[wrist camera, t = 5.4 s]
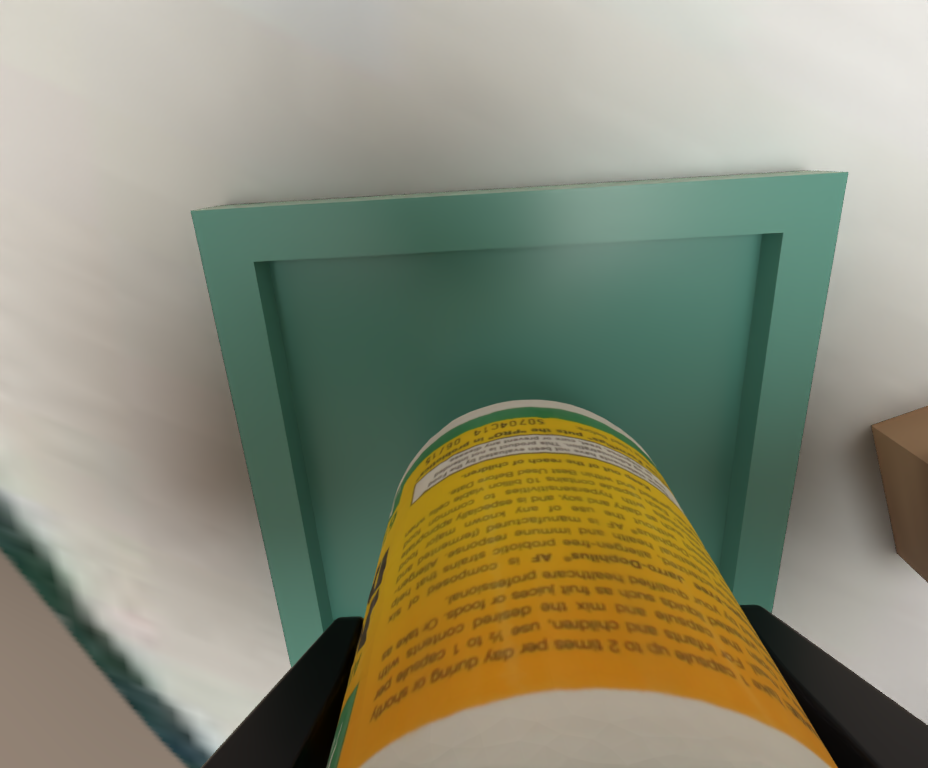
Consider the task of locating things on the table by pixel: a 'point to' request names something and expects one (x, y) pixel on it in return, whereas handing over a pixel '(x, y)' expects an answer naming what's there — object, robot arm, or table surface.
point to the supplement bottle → (556, 616)
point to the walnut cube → (906, 483)
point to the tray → (519, 350)
